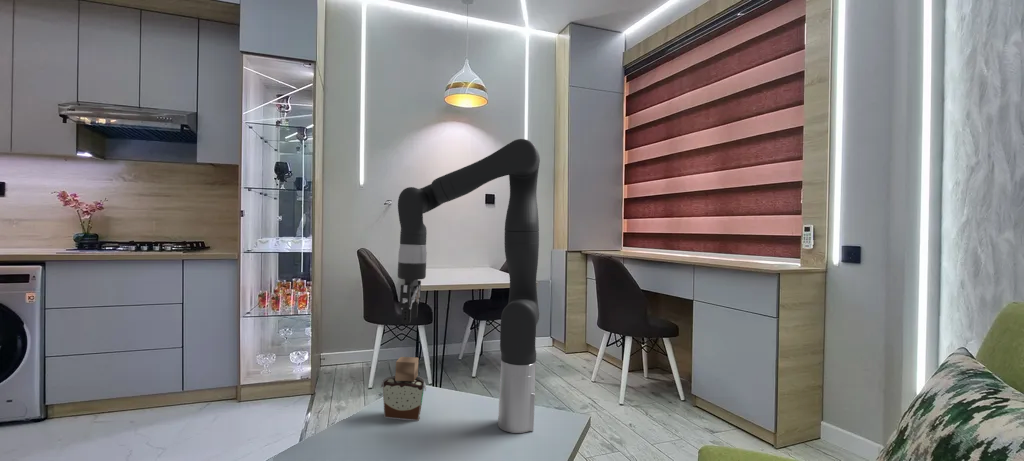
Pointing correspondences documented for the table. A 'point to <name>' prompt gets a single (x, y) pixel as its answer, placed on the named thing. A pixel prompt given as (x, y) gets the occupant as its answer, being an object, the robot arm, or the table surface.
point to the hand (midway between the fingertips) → (409, 320)
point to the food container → (403, 398)
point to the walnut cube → (406, 369)
